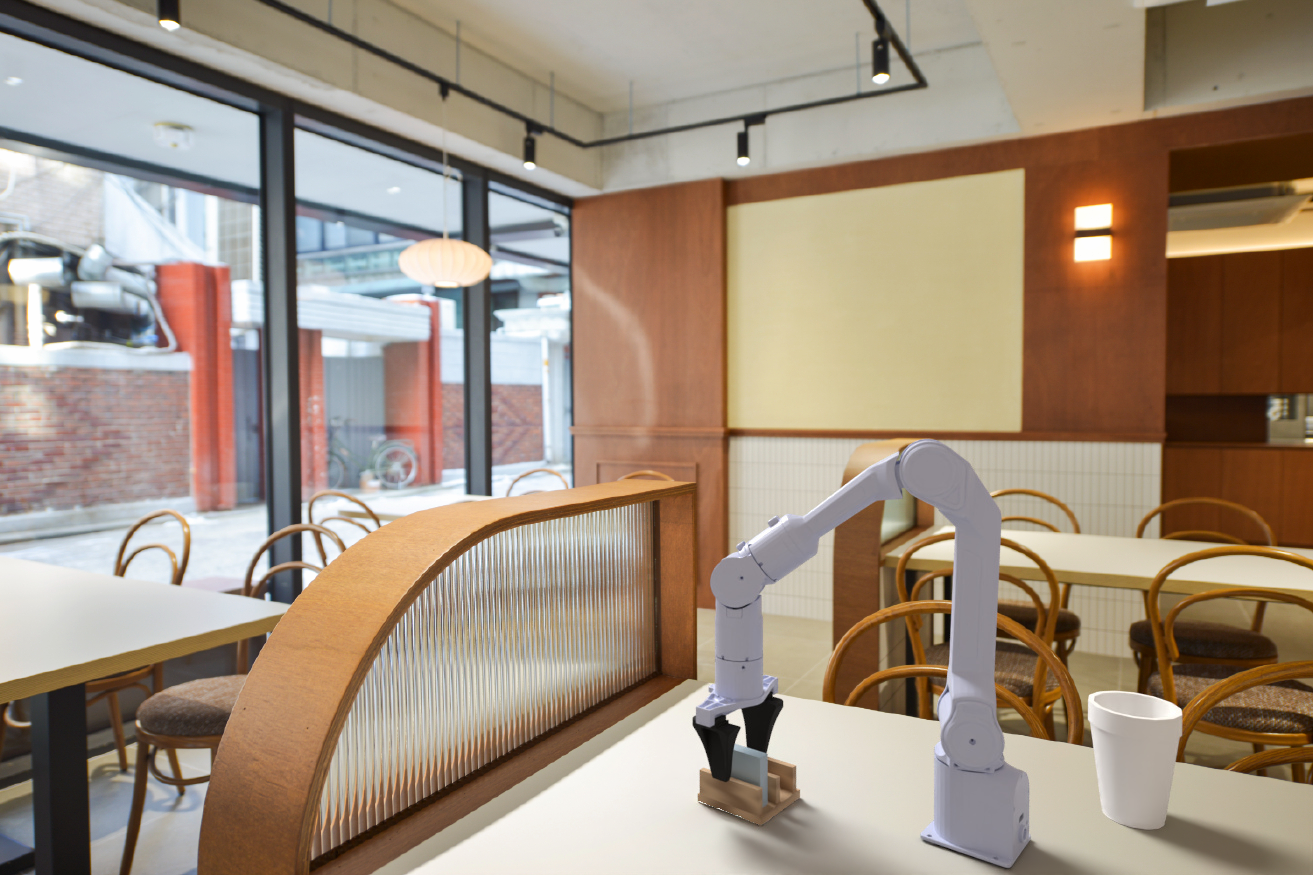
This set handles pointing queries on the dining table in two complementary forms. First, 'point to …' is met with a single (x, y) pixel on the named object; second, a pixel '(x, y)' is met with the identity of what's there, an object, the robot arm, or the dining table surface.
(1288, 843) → the dining table surface
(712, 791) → the rack
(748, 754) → the pale blue upright slab
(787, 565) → the robot arm
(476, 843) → the dining table surface
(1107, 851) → the dining table surface
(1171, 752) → the foam cup
